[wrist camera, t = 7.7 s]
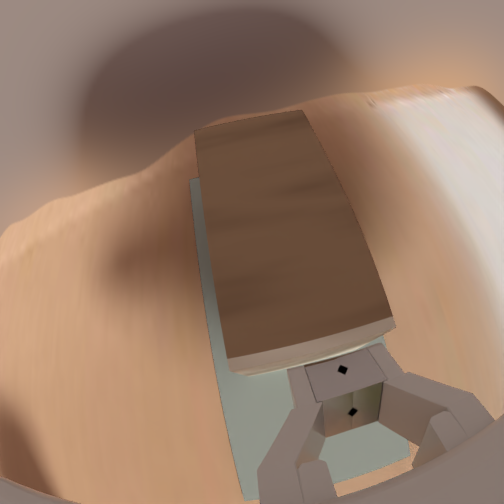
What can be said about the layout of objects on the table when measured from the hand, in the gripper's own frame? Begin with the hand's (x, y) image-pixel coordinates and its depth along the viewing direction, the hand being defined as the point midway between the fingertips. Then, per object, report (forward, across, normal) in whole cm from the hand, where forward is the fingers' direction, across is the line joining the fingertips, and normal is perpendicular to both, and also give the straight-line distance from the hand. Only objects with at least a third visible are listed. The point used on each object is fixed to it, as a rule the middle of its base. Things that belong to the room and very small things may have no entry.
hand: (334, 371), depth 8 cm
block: (+5, 0, -4) cm, 6 cm away
